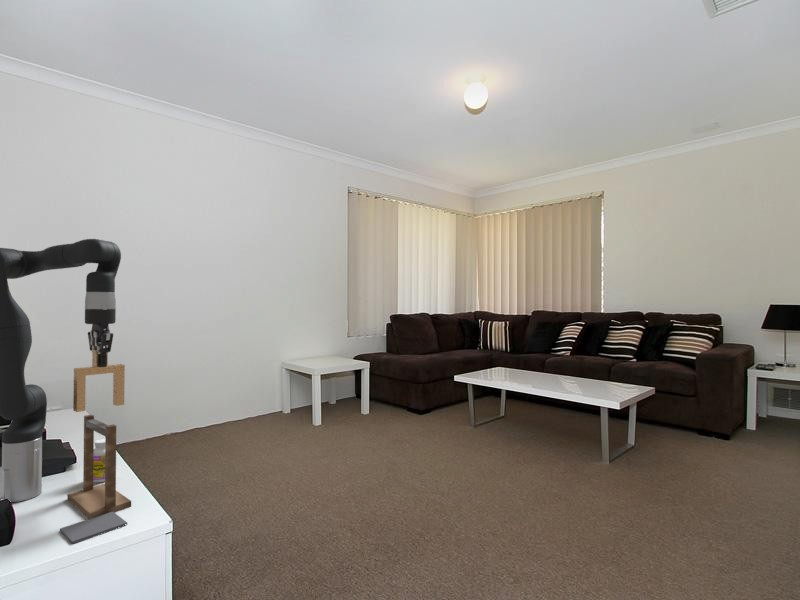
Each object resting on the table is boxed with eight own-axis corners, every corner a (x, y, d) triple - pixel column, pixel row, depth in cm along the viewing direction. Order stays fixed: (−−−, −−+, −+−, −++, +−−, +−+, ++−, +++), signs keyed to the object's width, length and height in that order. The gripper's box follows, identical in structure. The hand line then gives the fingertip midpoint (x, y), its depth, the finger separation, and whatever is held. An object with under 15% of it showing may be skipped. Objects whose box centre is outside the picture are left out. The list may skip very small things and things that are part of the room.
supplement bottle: (87, 484, 143) (87, 444, 143) (94, 476, 149) (95, 438, 149) (110, 482, 145) (111, 442, 145) (117, 474, 151) (117, 436, 151)
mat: (72, 544, 107) (72, 541, 107) (59, 530, 113) (59, 528, 113) (127, 524, 116) (127, 522, 116) (112, 513, 123) (112, 511, 123)
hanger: (76, 412, 124) (77, 351, 124) (73, 410, 126) (73, 350, 126) (124, 404, 134) (124, 348, 134) (120, 403, 135) (120, 347, 136)
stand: (90, 519, 119) (91, 430, 120) (67, 499, 132) (68, 418, 132) (131, 506, 127) (131, 422, 127) (105, 488, 140) (106, 412, 140)
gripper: (77, 307, 132) (76, 365, 131) (94, 307, 123) (93, 370, 123) (106, 307, 137) (105, 363, 137) (124, 307, 129) (123, 367, 128)
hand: (99, 366), depth 130 cm, fingers closed on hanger, 3 cm apart
